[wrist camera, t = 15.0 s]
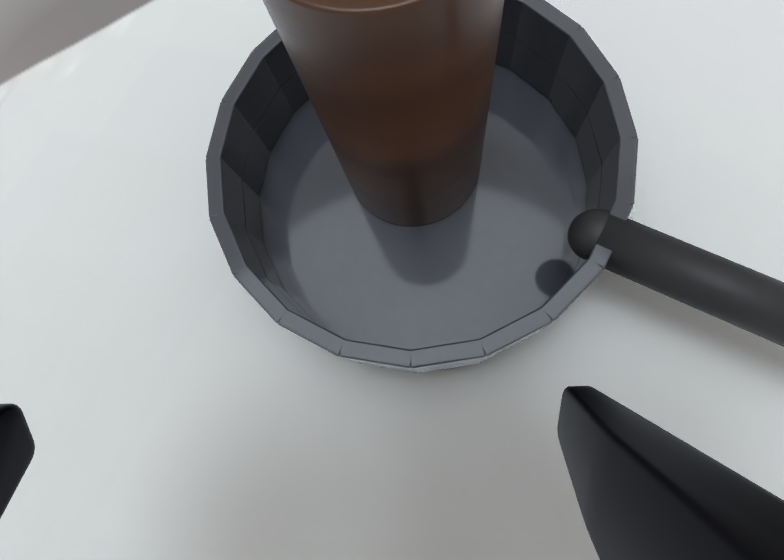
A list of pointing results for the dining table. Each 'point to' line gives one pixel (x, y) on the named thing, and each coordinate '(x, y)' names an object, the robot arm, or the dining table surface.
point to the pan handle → (684, 272)
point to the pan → (435, 240)
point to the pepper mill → (398, 94)
